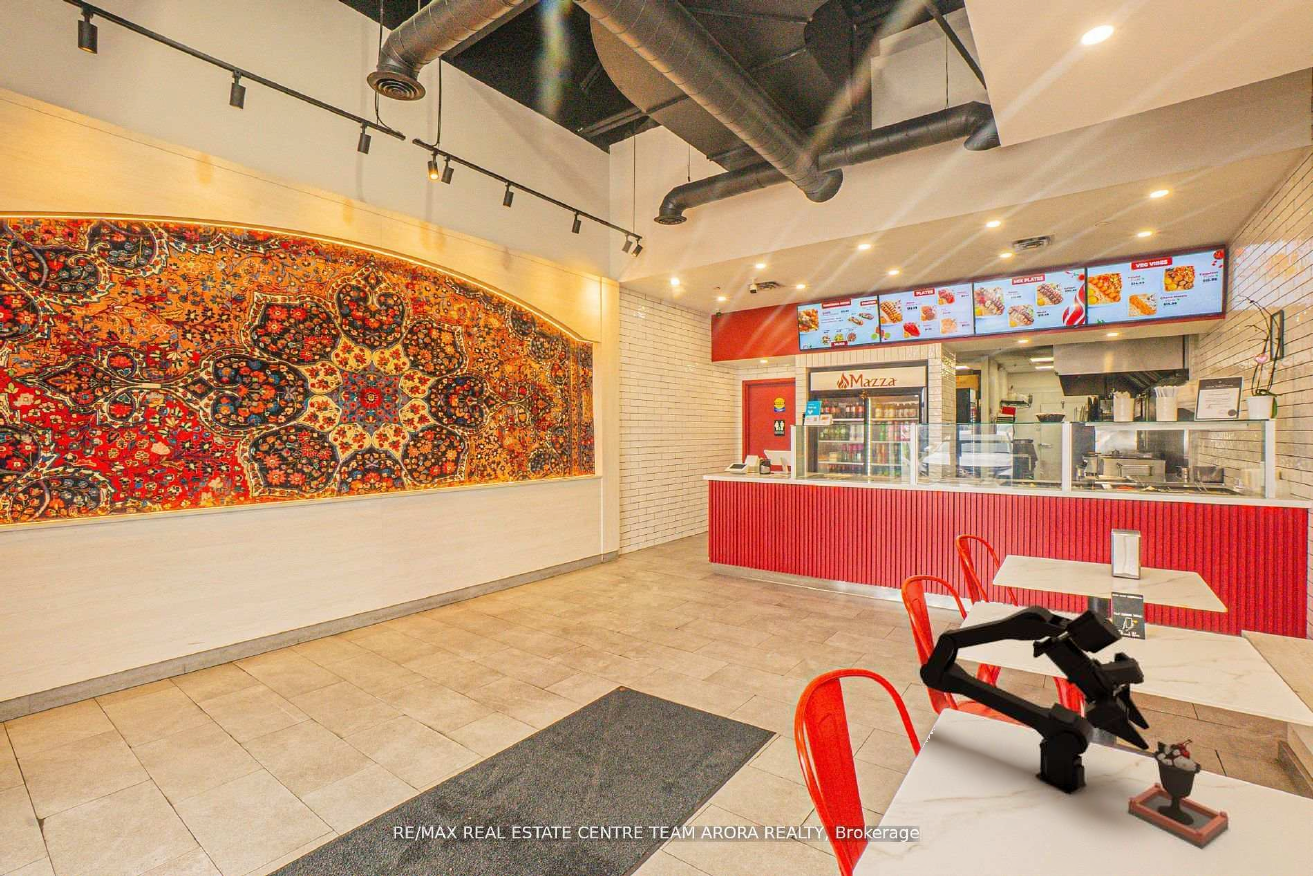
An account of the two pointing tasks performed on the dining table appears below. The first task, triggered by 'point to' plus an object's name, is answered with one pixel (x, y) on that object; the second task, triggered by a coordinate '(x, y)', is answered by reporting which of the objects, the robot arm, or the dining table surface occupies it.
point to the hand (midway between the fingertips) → (1147, 738)
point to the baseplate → (1197, 833)
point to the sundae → (1176, 778)
